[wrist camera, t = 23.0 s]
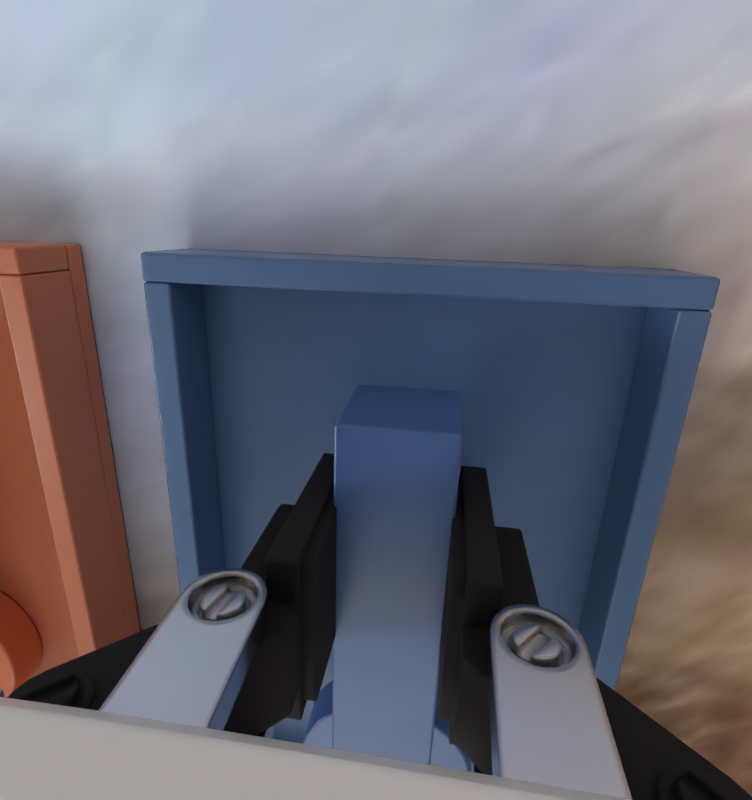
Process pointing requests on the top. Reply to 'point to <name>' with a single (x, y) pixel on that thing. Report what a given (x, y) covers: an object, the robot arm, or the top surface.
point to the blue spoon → (391, 575)
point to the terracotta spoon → (17, 645)
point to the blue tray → (432, 370)
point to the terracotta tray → (58, 460)
